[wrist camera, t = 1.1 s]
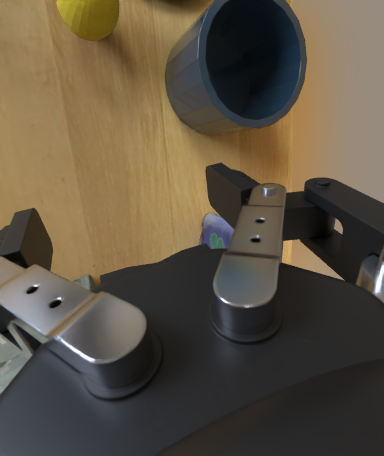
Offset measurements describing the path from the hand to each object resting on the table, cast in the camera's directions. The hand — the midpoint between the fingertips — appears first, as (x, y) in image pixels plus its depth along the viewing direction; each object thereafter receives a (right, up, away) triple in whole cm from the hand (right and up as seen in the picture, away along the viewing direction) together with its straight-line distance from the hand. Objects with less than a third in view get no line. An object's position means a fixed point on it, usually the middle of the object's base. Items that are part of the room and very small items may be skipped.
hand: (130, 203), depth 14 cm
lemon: (-8, +21, +17) cm, 28 cm away
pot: (+5, +18, +23) cm, 30 cm away
